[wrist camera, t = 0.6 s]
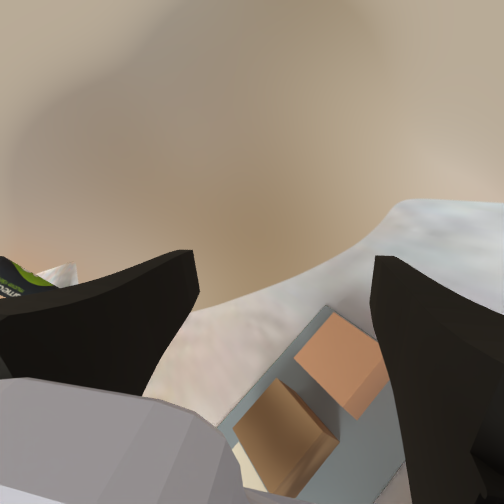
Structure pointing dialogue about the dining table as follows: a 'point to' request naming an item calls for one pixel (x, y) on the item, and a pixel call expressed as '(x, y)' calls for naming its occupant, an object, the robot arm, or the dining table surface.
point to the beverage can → (20, 280)
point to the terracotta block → (345, 364)
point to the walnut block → (284, 440)
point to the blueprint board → (339, 423)
